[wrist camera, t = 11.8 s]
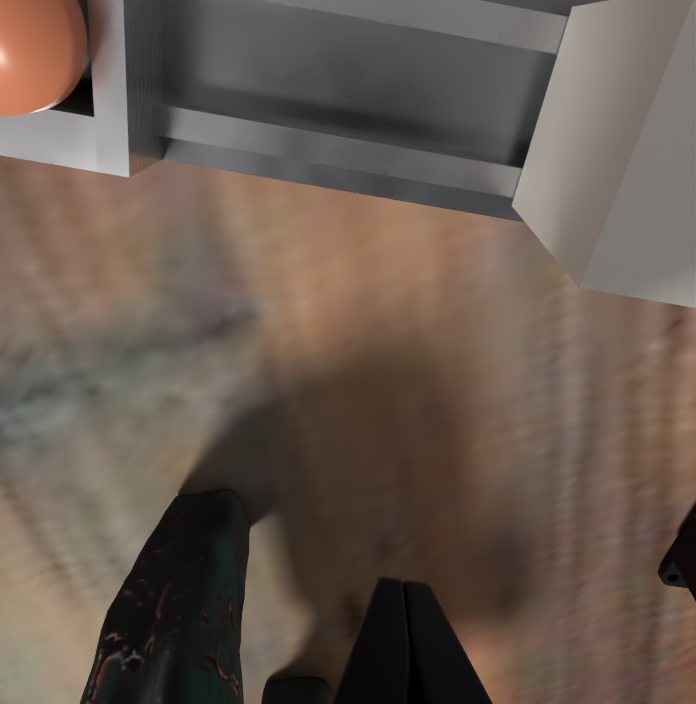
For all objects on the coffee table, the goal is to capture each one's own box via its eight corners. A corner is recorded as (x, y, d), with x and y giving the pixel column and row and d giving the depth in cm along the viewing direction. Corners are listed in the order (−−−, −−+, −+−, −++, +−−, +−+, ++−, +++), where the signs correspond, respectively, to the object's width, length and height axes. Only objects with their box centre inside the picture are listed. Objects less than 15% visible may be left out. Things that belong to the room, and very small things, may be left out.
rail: (878, 48, 15) (1045, 49, 12) (765, 252, 18) (867, 308, 14) (-11, -121, 14) (-151, -181, 11) (19, 122, 17) (-82, 145, 14)
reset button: (150, -37, 15) (61, -68, 11) (151, 107, 17) (76, 128, 12) (15, -63, 15) (-129, -104, 11) (31, 86, 17) (-87, 100, 12)
